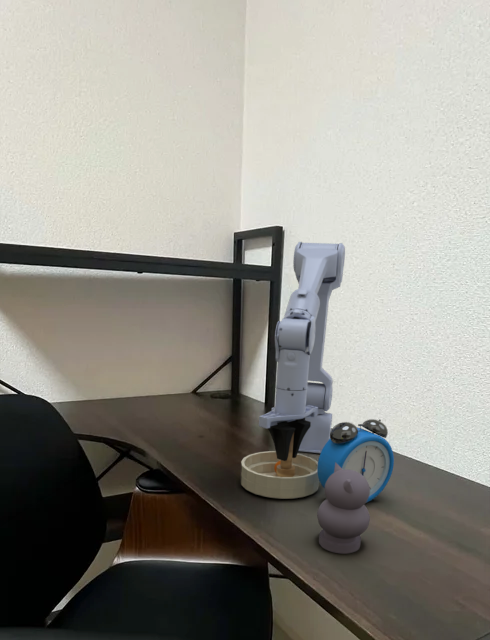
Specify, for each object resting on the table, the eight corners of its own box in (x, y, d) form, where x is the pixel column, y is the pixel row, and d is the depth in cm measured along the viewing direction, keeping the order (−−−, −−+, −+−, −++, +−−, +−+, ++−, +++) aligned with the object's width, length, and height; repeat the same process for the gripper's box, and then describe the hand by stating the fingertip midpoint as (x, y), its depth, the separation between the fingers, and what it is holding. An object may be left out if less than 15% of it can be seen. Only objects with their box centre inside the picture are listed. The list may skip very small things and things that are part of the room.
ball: (290, 474, 106) (290, 460, 105) (287, 475, 103) (287, 460, 102) (276, 475, 106) (276, 460, 106) (273, 475, 103) (272, 461, 103)
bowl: (321, 476, 107) (323, 455, 105) (314, 505, 93) (316, 482, 91) (250, 468, 109) (250, 448, 107) (232, 495, 96) (232, 472, 94)
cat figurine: (373, 556, 77) (385, 481, 72) (321, 558, 76) (330, 482, 71) (356, 530, 84) (365, 461, 80) (309, 531, 83) (315, 461, 79)
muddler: (284, 470, 104) (287, 426, 100) (298, 475, 102) (301, 430, 98) (272, 474, 101) (275, 429, 98) (286, 479, 99) (289, 433, 96)
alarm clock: (331, 512, 91) (341, 429, 85) (312, 498, 96) (319, 419, 90) (389, 500, 96) (401, 422, 90) (368, 488, 101) (378, 413, 95)
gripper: (300, 380, 102) (295, 445, 108) (248, 388, 93) (245, 460, 98) (328, 386, 98) (322, 454, 103) (277, 395, 88) (272, 470, 94)
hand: (286, 457), depth 100 cm, fingers closed on muddler, 2 cm apart
